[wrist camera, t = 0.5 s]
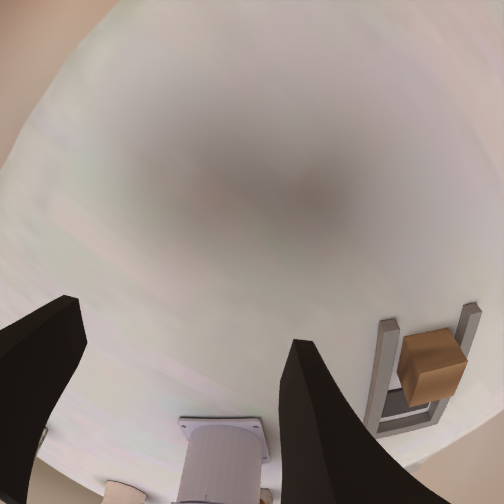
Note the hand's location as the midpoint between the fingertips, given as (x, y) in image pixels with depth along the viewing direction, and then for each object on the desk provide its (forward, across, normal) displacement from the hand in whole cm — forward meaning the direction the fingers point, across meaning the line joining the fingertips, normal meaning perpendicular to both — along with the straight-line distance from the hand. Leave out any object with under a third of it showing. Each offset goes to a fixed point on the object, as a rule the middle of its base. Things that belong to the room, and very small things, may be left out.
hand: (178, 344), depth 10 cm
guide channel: (+10, -18, +10) cm, 23 cm away
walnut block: (+10, -17, +7) cm, 21 cm away
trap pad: (+10, -19, +14) cm, 25 cm away
